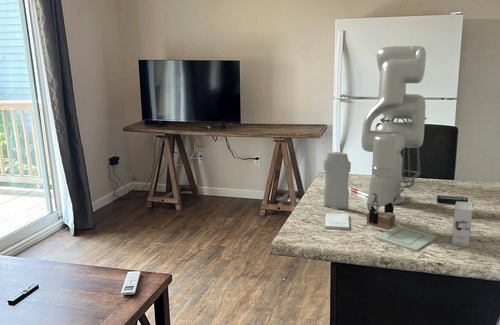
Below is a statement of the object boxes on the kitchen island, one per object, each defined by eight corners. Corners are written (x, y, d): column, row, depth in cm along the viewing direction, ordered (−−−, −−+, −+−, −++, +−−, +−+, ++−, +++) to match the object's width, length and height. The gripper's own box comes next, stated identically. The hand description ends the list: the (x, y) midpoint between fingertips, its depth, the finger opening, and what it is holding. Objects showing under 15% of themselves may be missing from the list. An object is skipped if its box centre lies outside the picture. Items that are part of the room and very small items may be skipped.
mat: (397, 226, 153) (397, 225, 153) (437, 238, 143) (437, 236, 143) (374, 238, 144) (375, 236, 143) (416, 251, 134) (416, 249, 133)
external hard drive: (348, 218, 163) (349, 231, 151) (325, 217, 165) (324, 230, 153) (348, 214, 163) (349, 226, 151) (326, 213, 164) (325, 225, 152)
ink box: (452, 234, 145) (455, 200, 143) (469, 237, 143) (472, 202, 140) (451, 244, 138) (454, 208, 135) (469, 247, 136) (472, 210, 133)
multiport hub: (436, 200, 180) (437, 195, 179) (466, 202, 176) (467, 197, 176) (437, 203, 176) (437, 198, 175) (467, 206, 172) (468, 200, 172)
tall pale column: (320, 206, 174) (321, 151, 169) (324, 203, 178) (325, 149, 172) (347, 210, 169) (349, 154, 164) (350, 207, 173) (352, 151, 167)
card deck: (372, 220, 160) (373, 209, 159) (394, 225, 155) (395, 213, 154) (366, 224, 156) (367, 213, 155) (388, 229, 151) (389, 218, 150)
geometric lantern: (408, 191, 192) (411, 109, 184) (376, 184, 203) (377, 107, 195) (426, 183, 202) (429, 105, 194) (394, 177, 213) (396, 104, 205)
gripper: (387, 165, 159) (384, 211, 163) (359, 174, 147) (357, 223, 151) (406, 169, 154) (403, 216, 157) (379, 178, 142) (377, 229, 146)
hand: (381, 219), depth 154 cm, fingers open, 9 cm apart
